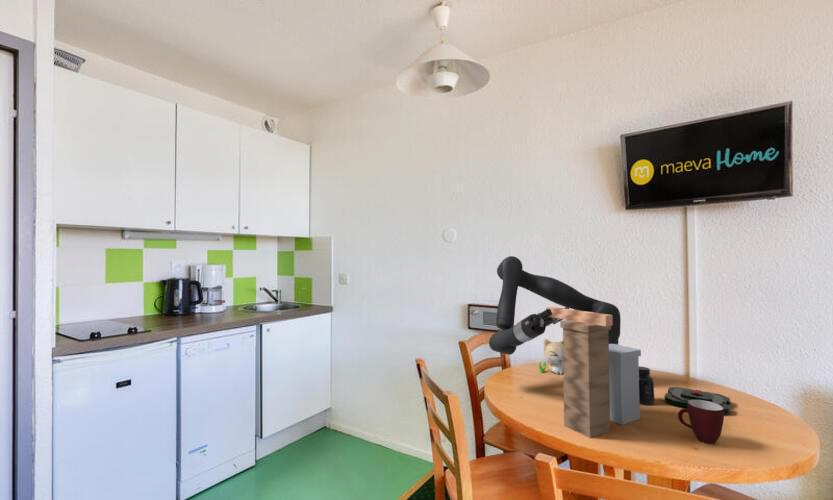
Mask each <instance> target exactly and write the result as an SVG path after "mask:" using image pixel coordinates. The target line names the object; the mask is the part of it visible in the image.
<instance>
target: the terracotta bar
mask: <svg viewBox="0 0 833 500" xmlns="http://www.w3.org/2000/svg"><path fill="white" fill-rule="evenodd" d="M546 309H550V310H551V312H552V315H551V316H549V317H553V318H559V319H563V320H571V321H577V322H583V323H589V324H595V325H601V326H613V317H612V315H609V314H601V313H594V312H587V311H580V310H574V309H571V308H569V309H565V307H564V308H563V307H558V306H546V307H545V310H546Z"/></svg>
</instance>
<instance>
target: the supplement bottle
mask: <svg viewBox="0 0 833 500" xmlns="http://www.w3.org/2000/svg"><path fill="white" fill-rule="evenodd" d="M654 383H655V382H654V378H653V377H652V376H651V368H649V367H647V366H639V405H644V406H651V405H654V404H655V390H654V389H655V384H654Z"/></svg>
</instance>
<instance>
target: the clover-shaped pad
mask: <svg viewBox="0 0 833 500" xmlns="http://www.w3.org/2000/svg"><path fill="white" fill-rule="evenodd" d="M663 399H664V401H665V402H668V403H670V404H672V405H674V406H675V405H676V406H680V407H686V408H688V401H689V400H704V401H709V402H713V403H716V404H719V405H721V406H722V407H723V408H724V414H729V413H730V411H731V410H730V407H731V398H730V397H728V396H725V395H723V394H721V393H716V392H709V391H703V390H701V389H692V388H688V387H687V388H686V387H683V386H682V387H681V386H673V387H672V386H671V387H668V389H667V392H666V393H665V395H664V398H663Z"/></svg>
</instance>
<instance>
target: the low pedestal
mask: <svg viewBox="0 0 833 500" xmlns="http://www.w3.org/2000/svg"><path fill="white" fill-rule="evenodd" d="M641 356H642V350H641V349H639V348H636V347H635V348H634V347H630V346H625V345H620V344H618V345H616V344H609V390H610V422H611V421H612V422H614V423H616V424H618V425H621V426H622V425H626V424H629V423H632V422H635V421H637V420H640V418H641V417H640V404H639V357H641Z"/></svg>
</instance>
